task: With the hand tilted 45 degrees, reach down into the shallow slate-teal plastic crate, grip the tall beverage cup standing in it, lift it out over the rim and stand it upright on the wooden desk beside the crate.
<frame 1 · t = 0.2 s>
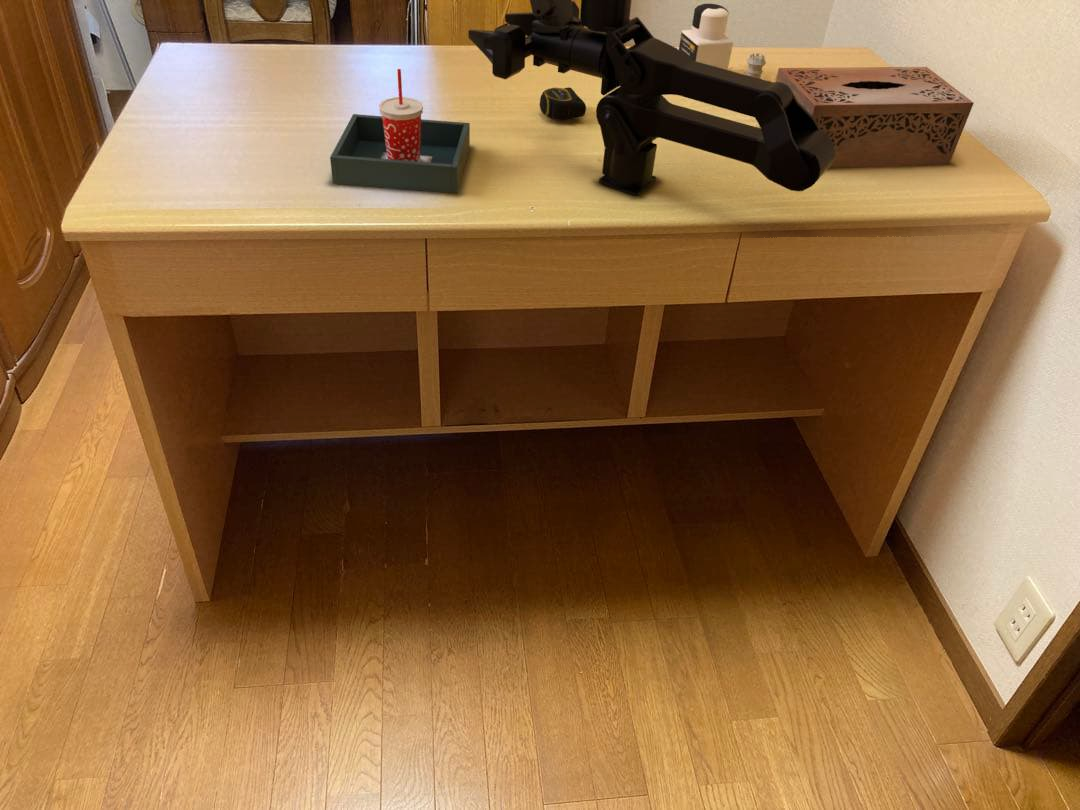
hand: (487, 25, 125), 17 cm above the table, tool horizontal, fingers open, 9 cm apart
beverage cup: (404, 166, 127), resting in crate
crate: (404, 165, 127), on the table
medicine bottle: (700, 75, 160), on the table
rook chess piece: (747, 103, 152), on the table
tissue box cover: (854, 147, 141), on the table
tape measure: (563, 116, 144), on the table
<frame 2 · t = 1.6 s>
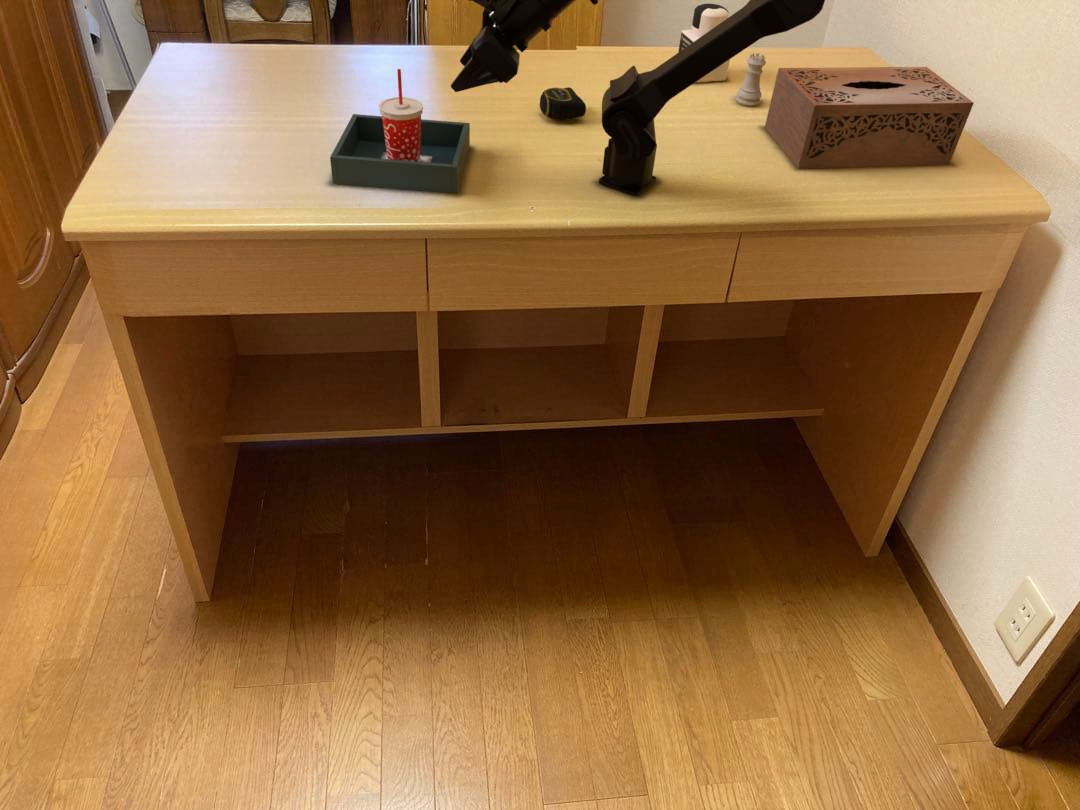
hand: (457, 75, 118), 14 cm above the table, tool tilted 45°, fingers open, 9 cm apart
nothing on the table moved.
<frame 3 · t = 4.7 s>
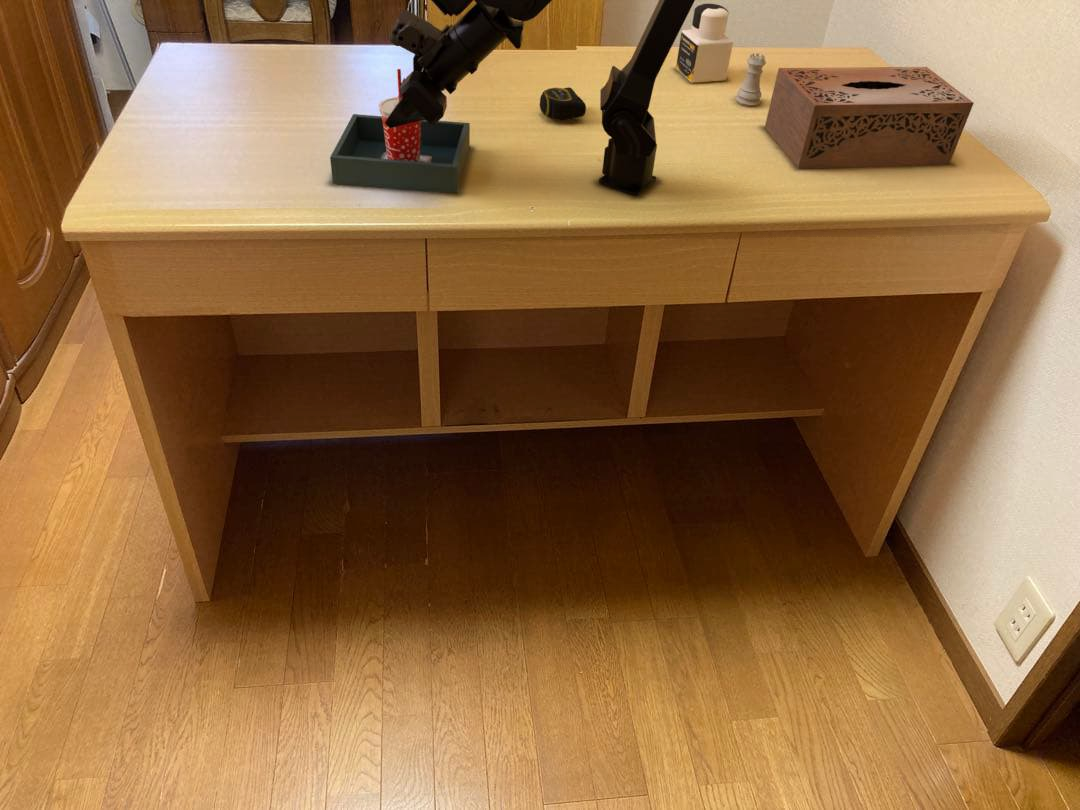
hand: (391, 115, 122), 7 cm above the table, tool tilted 45°, fingers closed on beverage cup, 6 cm apart
beverage cup: (404, 166, 127), resting in crate, touching gripper
everything else where it was.
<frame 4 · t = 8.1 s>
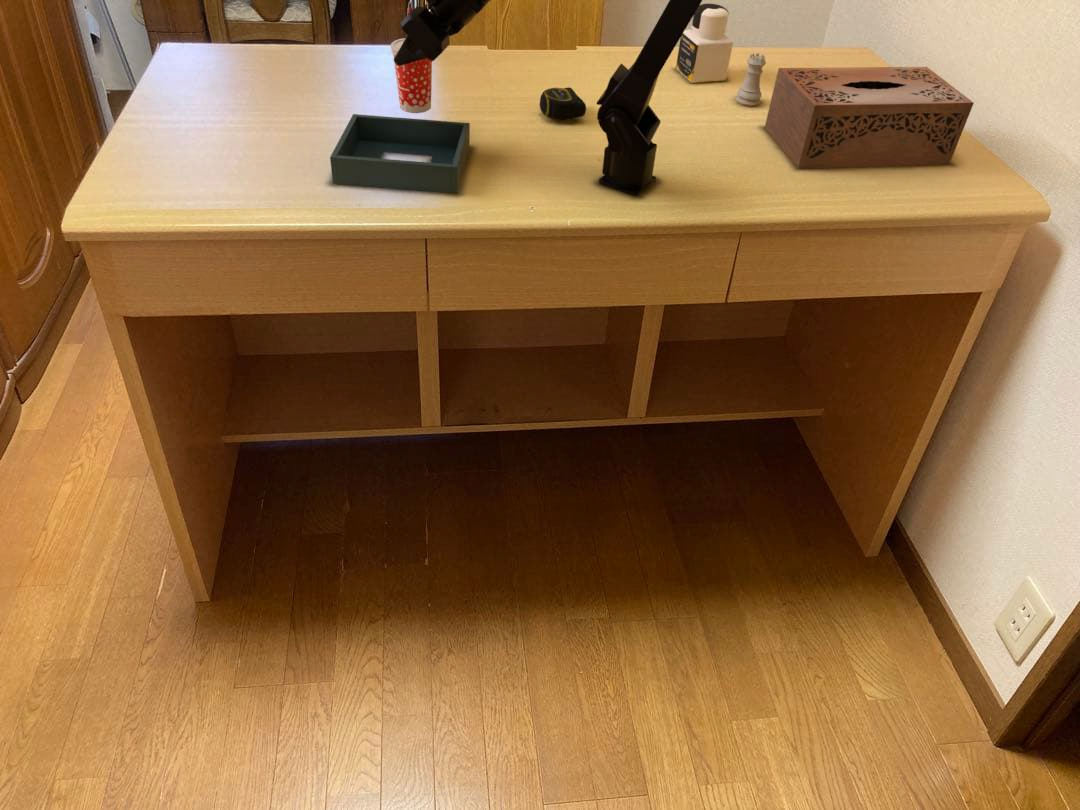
hand: (403, 55, 124), 13 cm above the table, tool tilted 45°, fingers closed on beverage cup, 6 cm apart
beverage cup: (415, 108, 129), point 6 cm above the table, touching gripper
everything else where it was.
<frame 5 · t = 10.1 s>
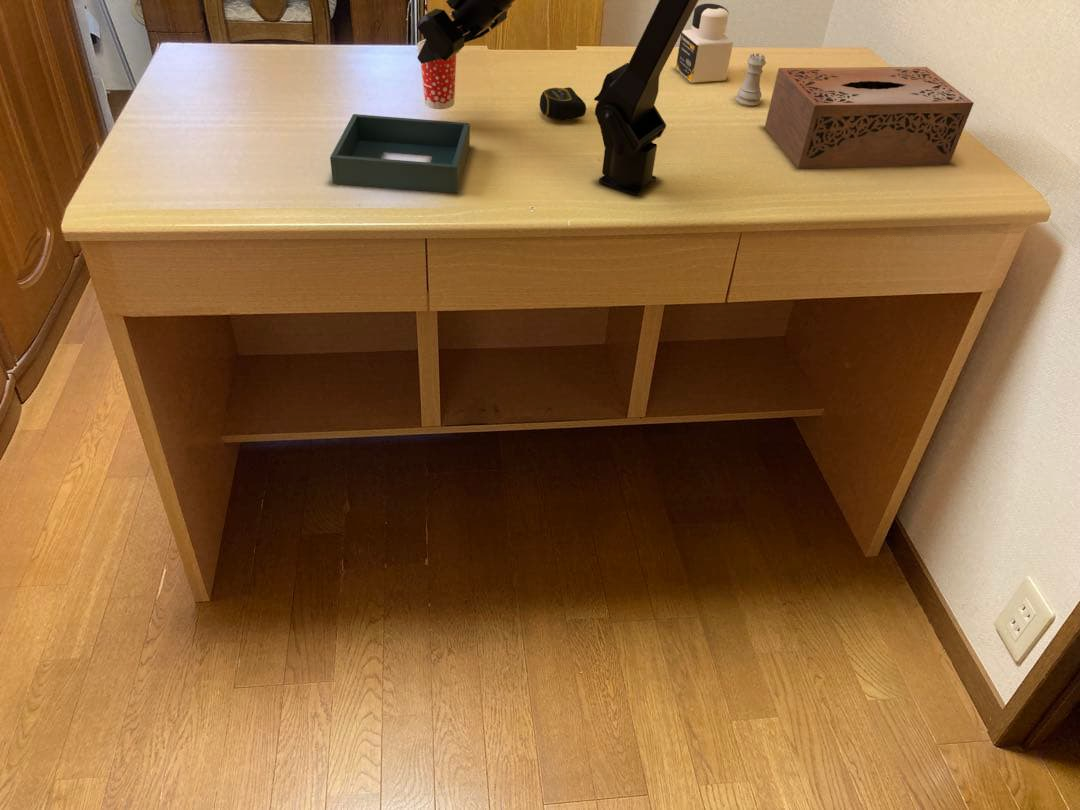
hand: (430, 54, 131), 11 cm above the table, tool tilted 45°, fingers closed on beverage cup, 6 cm apart
beverage cup: (439, 104, 136), point 3 cm above the table, touching gripper
everything else where it was.
when the fingers open (7 cm above the table, at t = 11.6 s): beverage cup stays where it is, on the table.
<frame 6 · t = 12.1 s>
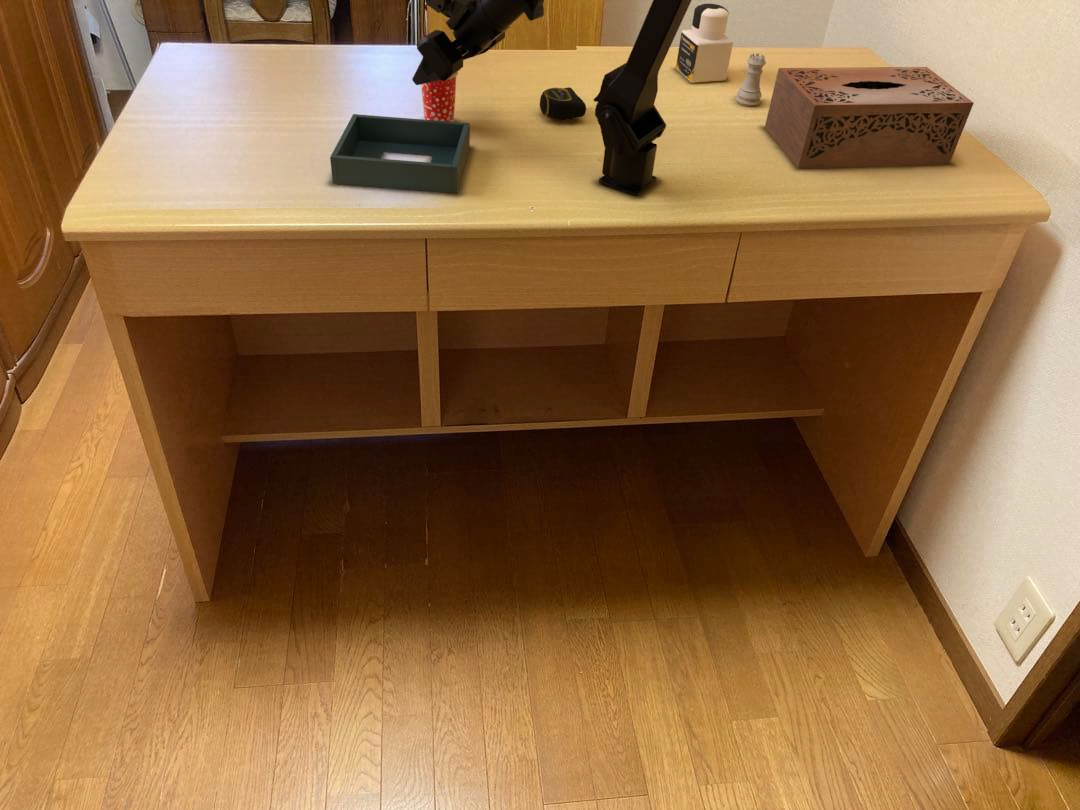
hand: (429, 72, 133), 8 cm above the table, tool tilted 45°, fingers open, 9 cm apart
beverage cup: (439, 125, 138), on the table
everything else where it was.
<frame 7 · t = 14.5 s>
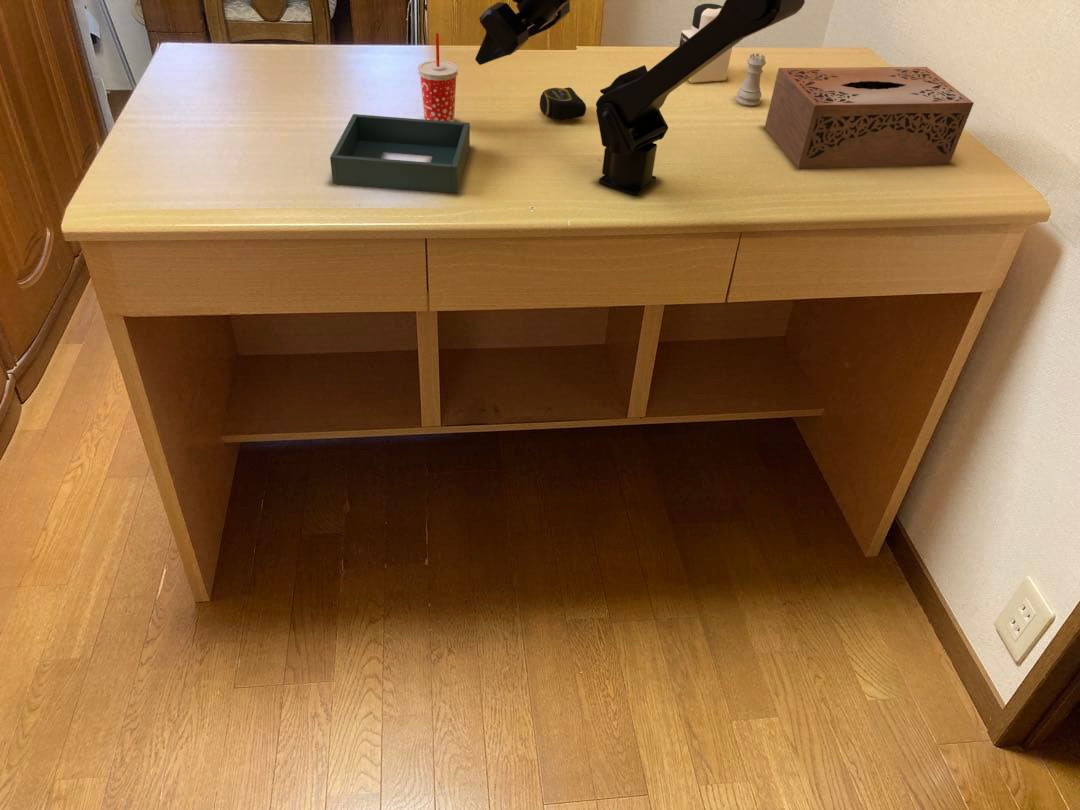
hand: (492, 52, 128), 13 cm above the table, tool tilted 40°, fingers open, 9 cm apart
nothing on the table moved.
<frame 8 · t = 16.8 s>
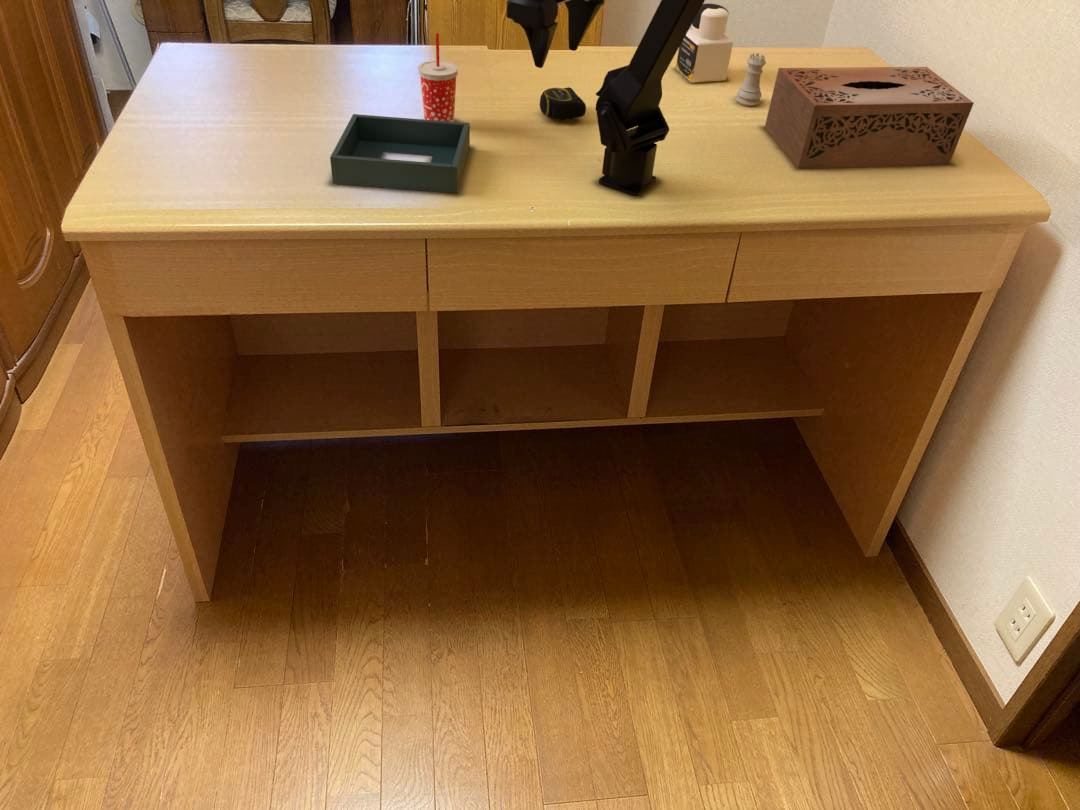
hand: (556, 58, 127), 13 cm above the table, tool pointing down, fingers open, 9 cm apart
nothing on the table moved.
at the end: beverage cup 0.1 cm from the target spot, on the table; beverage cup tilted 0°; the gripper is holding nothing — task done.
